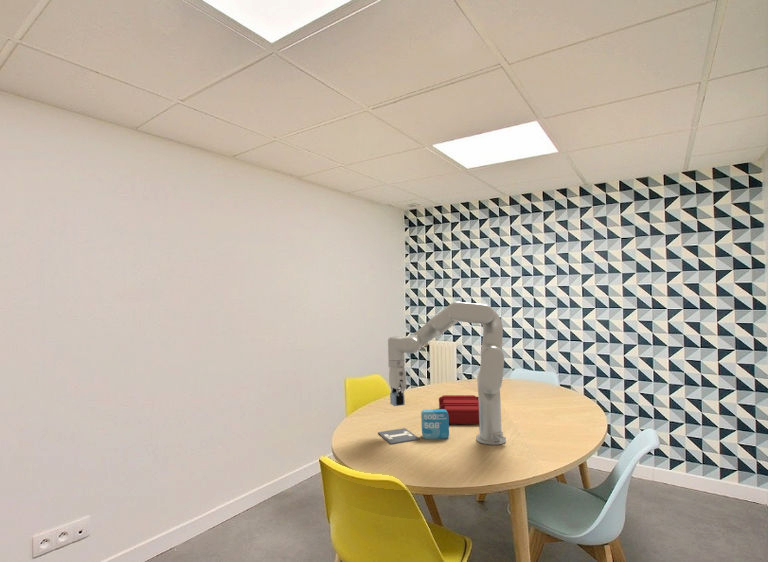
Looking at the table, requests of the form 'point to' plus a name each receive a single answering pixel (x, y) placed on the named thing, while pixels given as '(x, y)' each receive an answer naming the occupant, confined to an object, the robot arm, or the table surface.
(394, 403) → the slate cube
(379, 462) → the table surface
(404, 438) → the letter mat
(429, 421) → the data package
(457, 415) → the first aid kit
